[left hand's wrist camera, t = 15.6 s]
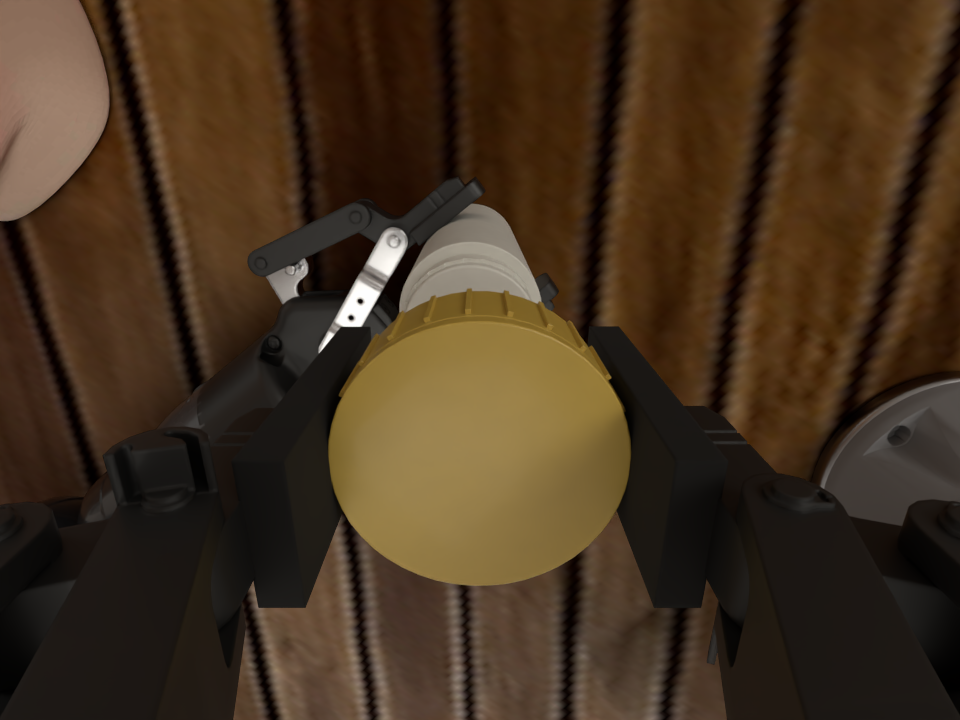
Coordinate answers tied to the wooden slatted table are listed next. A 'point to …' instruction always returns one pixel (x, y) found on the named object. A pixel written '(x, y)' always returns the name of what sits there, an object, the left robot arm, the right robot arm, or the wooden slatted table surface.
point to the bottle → (470, 260)
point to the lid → (479, 441)
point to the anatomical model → (46, 99)
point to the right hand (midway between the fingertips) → (515, 235)
